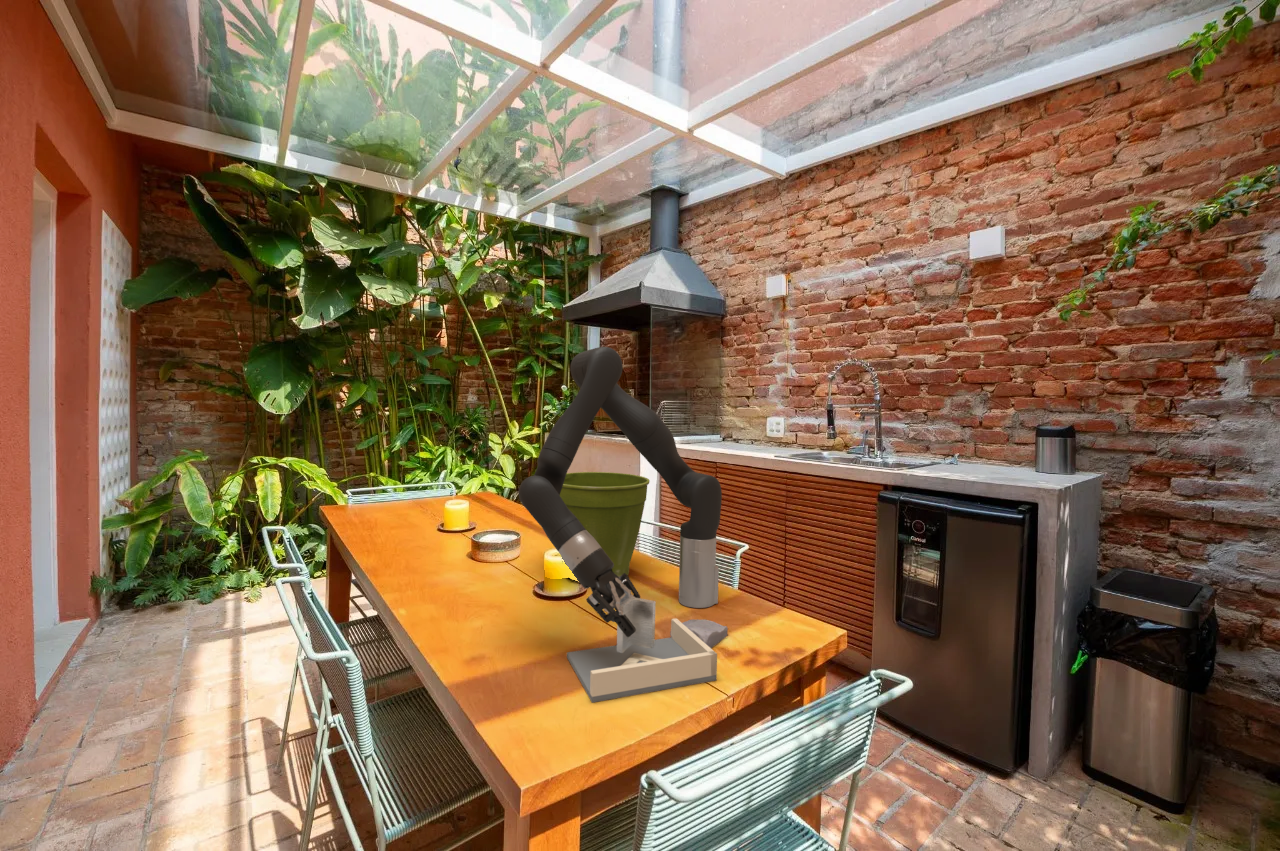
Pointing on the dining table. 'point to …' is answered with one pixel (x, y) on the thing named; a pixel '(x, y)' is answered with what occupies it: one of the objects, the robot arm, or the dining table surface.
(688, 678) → the arena
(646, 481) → the plant pot
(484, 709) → the dining table surface
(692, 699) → the dining table surface
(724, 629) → the stone block
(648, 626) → the bracket
